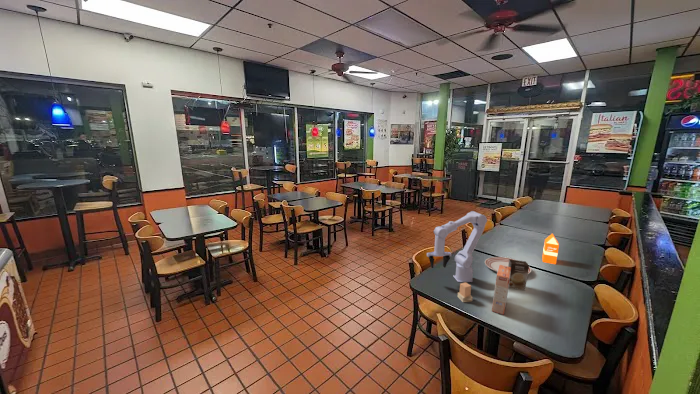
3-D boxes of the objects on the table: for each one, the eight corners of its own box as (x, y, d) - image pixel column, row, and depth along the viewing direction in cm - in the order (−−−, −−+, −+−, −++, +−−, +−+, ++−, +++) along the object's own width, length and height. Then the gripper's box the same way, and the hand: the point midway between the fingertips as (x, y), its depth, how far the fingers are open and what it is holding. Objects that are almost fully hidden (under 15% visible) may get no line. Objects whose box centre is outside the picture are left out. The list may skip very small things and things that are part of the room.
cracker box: (504, 315, 134) (509, 278, 130) (491, 311, 138) (495, 274, 133) (506, 301, 146) (511, 266, 141) (494, 298, 149) (498, 263, 144)
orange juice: (554, 259, 195) (559, 234, 191) (556, 264, 188) (560, 237, 184) (541, 257, 199) (545, 232, 195) (542, 261, 192) (546, 235, 188)
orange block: (465, 291, 151) (465, 282, 149) (470, 295, 147) (471, 285, 146) (459, 293, 149) (460, 283, 148) (464, 297, 146) (465, 287, 144)
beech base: (466, 296, 152) (467, 291, 151) (472, 302, 146) (472, 297, 146) (457, 297, 151) (457, 292, 150) (462, 302, 146) (463, 297, 145)
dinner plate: (486, 275, 175) (486, 270, 174) (482, 258, 200) (483, 253, 199) (535, 283, 165) (536, 278, 164) (525, 264, 189) (526, 259, 189)
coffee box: (507, 288, 159) (511, 263, 155) (505, 282, 165) (508, 258, 161) (525, 291, 156) (529, 265, 152) (522, 285, 162) (526, 261, 158)
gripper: (448, 243, 165) (447, 263, 168) (425, 244, 164) (424, 264, 167) (453, 248, 158) (451, 269, 161) (429, 248, 157) (428, 269, 160)
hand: (438, 267), depth 164 cm, fingers open, 7 cm apart
